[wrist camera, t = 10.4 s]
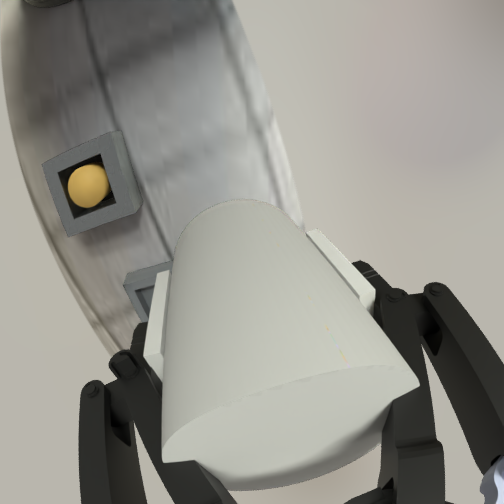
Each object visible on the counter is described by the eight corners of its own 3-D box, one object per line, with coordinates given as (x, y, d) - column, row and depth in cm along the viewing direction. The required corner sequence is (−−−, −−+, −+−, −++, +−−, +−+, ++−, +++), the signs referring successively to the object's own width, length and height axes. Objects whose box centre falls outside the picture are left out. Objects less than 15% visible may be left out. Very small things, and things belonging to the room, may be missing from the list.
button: (74, 169, 25) (62, 175, 22) (106, 156, 25) (97, 159, 22) (86, 204, 27) (76, 213, 24) (118, 192, 27) (110, 199, 24)
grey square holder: (58, 158, 25) (41, 164, 21) (121, 130, 25) (110, 132, 22) (81, 224, 28) (68, 237, 25) (143, 201, 29) (135, 212, 25)
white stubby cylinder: (268, 328, 20) (323, 483, 10) (157, 296, 18) (141, 482, 7) (327, 230, 18) (457, 370, 7) (204, 176, 15) (228, 336, 4)
